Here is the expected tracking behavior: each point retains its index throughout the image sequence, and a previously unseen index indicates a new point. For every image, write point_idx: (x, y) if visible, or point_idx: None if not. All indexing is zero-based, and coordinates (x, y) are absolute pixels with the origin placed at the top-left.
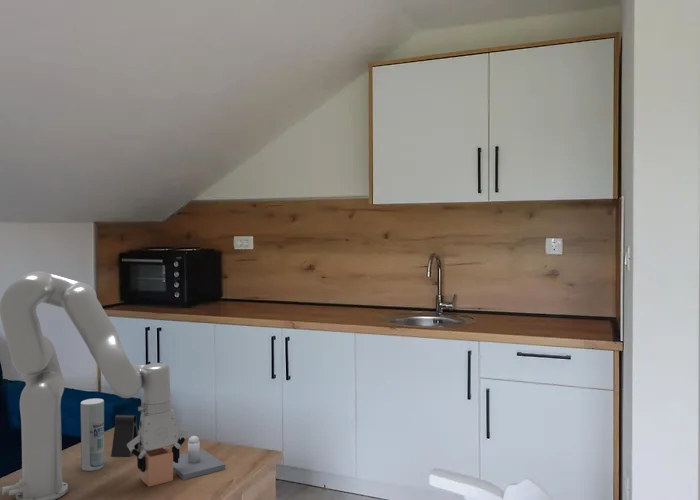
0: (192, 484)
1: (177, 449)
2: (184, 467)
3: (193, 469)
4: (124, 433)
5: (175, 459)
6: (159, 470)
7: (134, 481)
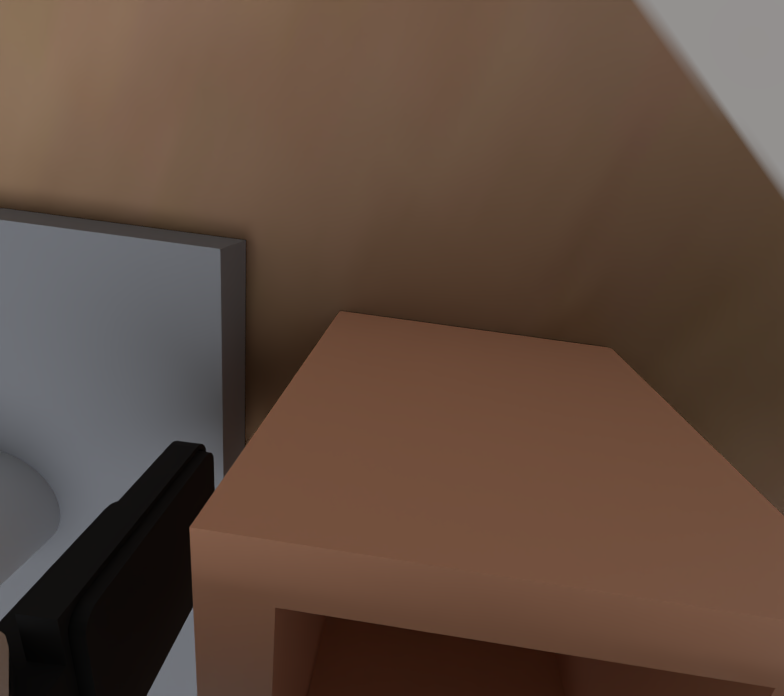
0: (210, 32)
1: (24, 624)
2: (135, 432)
3: (64, 313)
4: None
5: (189, 490)
6: (516, 396)
7: None
